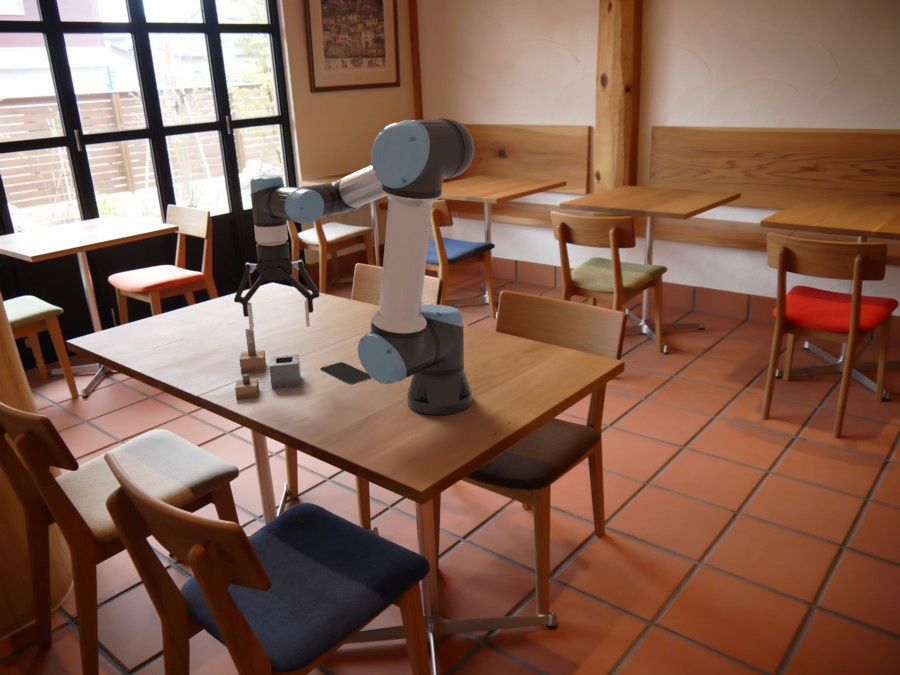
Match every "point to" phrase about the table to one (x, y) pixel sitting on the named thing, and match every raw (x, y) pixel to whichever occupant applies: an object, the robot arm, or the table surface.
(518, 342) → the table surface
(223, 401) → the table surface
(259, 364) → the wooden peg stand
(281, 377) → the grey hollow square block
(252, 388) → the block
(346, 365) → the smartphone
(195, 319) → the table surface
